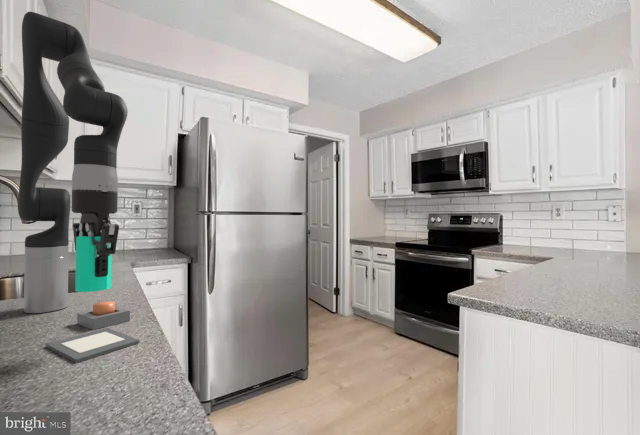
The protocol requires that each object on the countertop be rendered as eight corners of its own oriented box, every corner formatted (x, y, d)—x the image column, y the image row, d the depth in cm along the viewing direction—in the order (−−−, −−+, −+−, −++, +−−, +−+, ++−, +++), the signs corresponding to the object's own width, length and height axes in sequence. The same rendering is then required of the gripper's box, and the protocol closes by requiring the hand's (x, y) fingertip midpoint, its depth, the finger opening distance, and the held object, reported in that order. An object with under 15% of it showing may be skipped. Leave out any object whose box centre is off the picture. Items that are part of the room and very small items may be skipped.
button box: (77, 323, 77) (77, 313, 77) (112, 315, 84) (113, 305, 84) (93, 330, 73) (93, 318, 73) (129, 320, 80) (129, 310, 80)
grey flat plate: (46, 346, 63) (46, 343, 63) (107, 330, 73) (107, 327, 73) (76, 363, 56) (76, 358, 56) (139, 342, 66) (139, 339, 66)
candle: (93, 292, 61) (94, 229, 61) (66, 291, 62) (67, 228, 62) (118, 286, 67) (119, 228, 67) (94, 284, 68) (95, 227, 68)
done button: (89, 316, 78) (89, 304, 78) (109, 312, 82) (109, 300, 82) (98, 319, 75) (98, 306, 75) (118, 315, 79) (118, 302, 79)
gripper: (57, 189, 65) (56, 274, 65) (91, 186, 58) (90, 282, 58) (98, 192, 72) (97, 269, 72) (134, 189, 64) (133, 276, 64)
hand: (94, 274), depth 65 cm, fingers closed on candle, 4 cm apart
